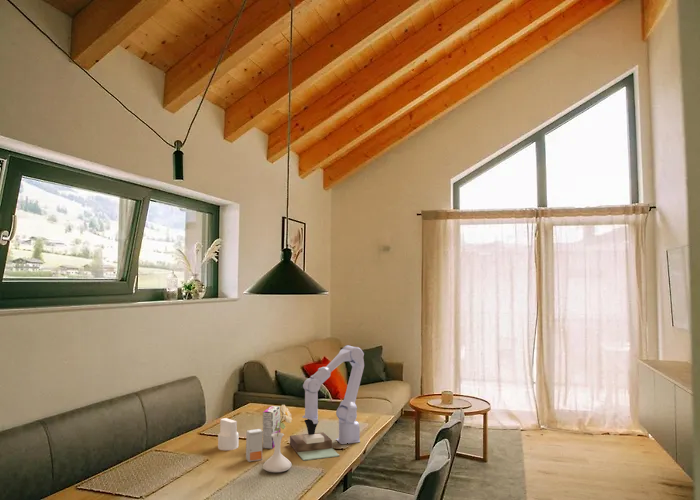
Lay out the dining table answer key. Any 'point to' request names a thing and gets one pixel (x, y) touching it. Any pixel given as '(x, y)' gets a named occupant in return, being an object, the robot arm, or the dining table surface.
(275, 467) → the flower in vase
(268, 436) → the candy bar box
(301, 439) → the brown flat block
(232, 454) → the dining table surface
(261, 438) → the skincare box
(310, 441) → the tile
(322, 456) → the mat
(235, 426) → the cylinder with rectangular tab
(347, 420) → the robot arm
